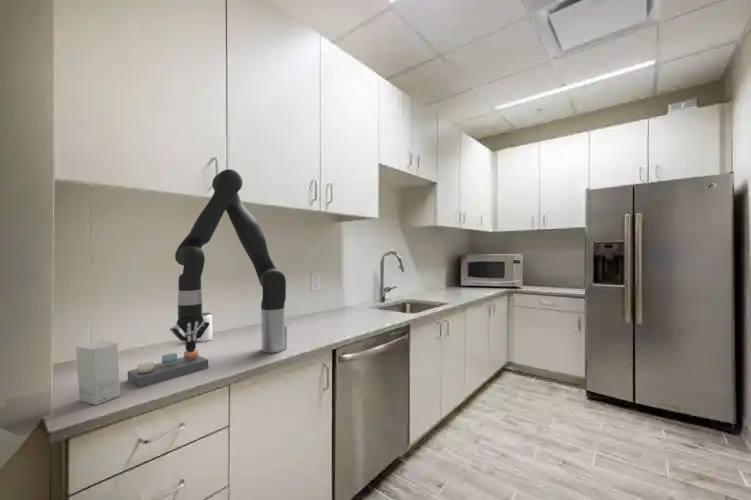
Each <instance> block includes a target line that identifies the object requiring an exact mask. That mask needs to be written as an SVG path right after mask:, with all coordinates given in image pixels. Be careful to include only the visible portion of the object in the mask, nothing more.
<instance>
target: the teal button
mask: <svg viewBox="0 0 751 500" xmlns="http://www.w3.org/2000/svg"><path fill="white" fill-rule="evenodd" d="M177 358H178V354H177V353H176V352H175V353H173V352H172V353H167V354H163V355H161V363H165V364H166V363H173V362H176V361H177Z"/></svg>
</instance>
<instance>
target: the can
mask: <svg viewBox="0 0 751 500" xmlns="http://www.w3.org/2000/svg"><path fill="white" fill-rule="evenodd" d="M202 317H203V320H204V321H205V322H208V323H209V326H208V327H207V329H206V330H205V332H204V333H203V335H202V336H201V337H200V338H198V339H196V341H197V342H200V343H203V342H209V341H212V339H213V316H212V313H211V312H202ZM200 327H201V326H199V328H200ZM199 328H198V329H199ZM197 331H198V330H197Z"/></svg>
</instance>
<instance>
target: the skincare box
mask: <svg viewBox="0 0 751 500" xmlns="http://www.w3.org/2000/svg"><path fill="white" fill-rule="evenodd" d="M75 349H76V350H75V351H76V365H77V367H76V368H77V379H78V383H77V384H78V397H79V402H82V403H87V404H91V405H95V406H98V405H101V404H104V403H106V402H109V401H111V400H114V399H116V398H119V397H120V396H121V389H120V386H121V384H120V371H119V369H120V368H119V354H118V353H119V352H118V343H117V342H111V341H104V340H98V341H95V342H90V343H87V344H84V345H83V344H82V345H78V346H76V347H75Z"/></svg>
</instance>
